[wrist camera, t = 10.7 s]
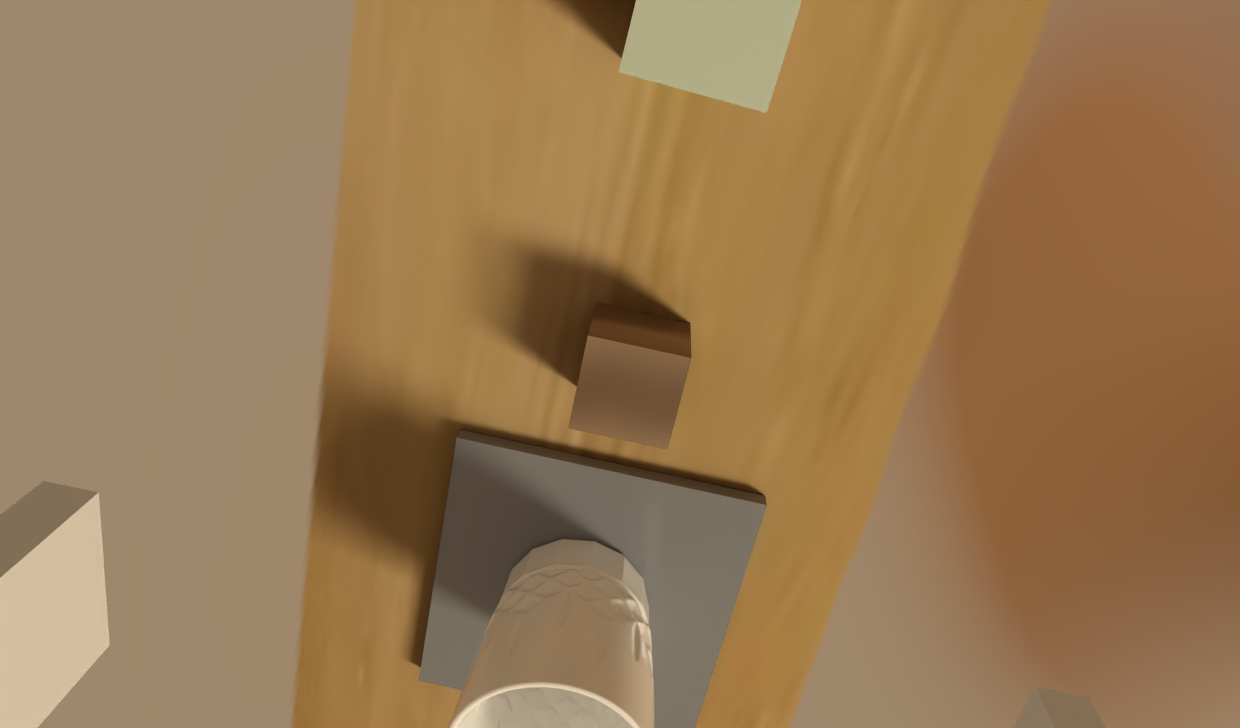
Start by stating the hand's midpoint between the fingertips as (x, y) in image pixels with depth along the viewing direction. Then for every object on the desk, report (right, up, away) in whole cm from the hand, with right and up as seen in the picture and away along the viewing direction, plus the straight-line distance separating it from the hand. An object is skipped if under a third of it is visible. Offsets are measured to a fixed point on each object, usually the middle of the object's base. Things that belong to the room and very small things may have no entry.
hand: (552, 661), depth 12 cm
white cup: (-1, -7, +29) cm, 30 cm away
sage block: (+4, +17, +20) cm, 26 cm away
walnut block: (+2, +5, +25) cm, 26 cm away
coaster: (-1, -7, +30) cm, 30 cm away
